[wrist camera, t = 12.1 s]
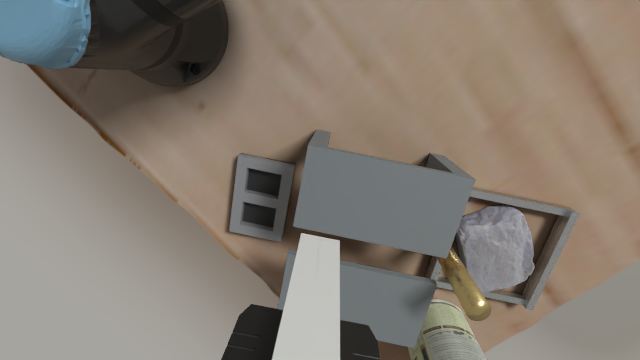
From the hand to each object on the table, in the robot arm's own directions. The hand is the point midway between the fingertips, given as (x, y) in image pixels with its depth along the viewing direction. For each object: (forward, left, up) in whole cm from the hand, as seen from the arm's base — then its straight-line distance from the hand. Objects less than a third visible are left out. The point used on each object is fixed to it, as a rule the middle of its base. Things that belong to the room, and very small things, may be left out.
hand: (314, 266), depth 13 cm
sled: (+12, +25, -33) cm, 43 cm away
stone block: (+11, +26, -33) cm, 44 cm away
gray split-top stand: (+12, +6, -33) cm, 36 cm away
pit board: (+12, -9, -33) cm, 36 cm away
